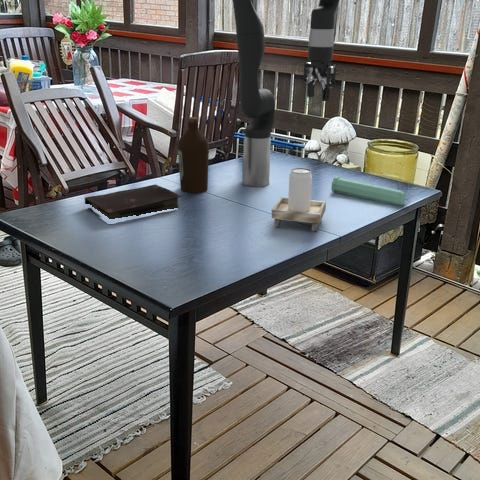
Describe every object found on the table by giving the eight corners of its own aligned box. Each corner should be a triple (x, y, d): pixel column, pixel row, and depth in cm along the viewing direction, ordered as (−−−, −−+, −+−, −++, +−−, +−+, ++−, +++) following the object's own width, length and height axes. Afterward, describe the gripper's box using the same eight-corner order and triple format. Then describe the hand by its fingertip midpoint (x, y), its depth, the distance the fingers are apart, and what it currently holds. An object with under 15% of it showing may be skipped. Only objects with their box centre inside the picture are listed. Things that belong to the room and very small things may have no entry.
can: (311, 213, 172) (313, 173, 168) (288, 213, 172) (290, 173, 168) (308, 206, 178) (310, 167, 174) (287, 205, 178) (288, 167, 174)
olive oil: (208, 184, 212) (208, 114, 202) (209, 194, 202) (209, 120, 193) (179, 185, 211) (177, 114, 202) (178, 194, 201) (176, 120, 192)
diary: (85, 211, 187) (83, 195, 185) (155, 197, 201) (154, 182, 199) (110, 227, 173) (108, 211, 172) (183, 211, 187) (183, 196, 185)
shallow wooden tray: (271, 227, 174) (271, 209, 171) (279, 214, 184) (280, 197, 182) (318, 233, 170) (320, 214, 168) (324, 219, 181) (325, 201, 179)
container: (407, 186, 193) (338, 172, 206) (401, 197, 190) (330, 182, 202) (408, 200, 197) (339, 186, 210) (401, 211, 194) (331, 196, 206)
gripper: (345, 46, 175) (340, 101, 182) (318, 42, 187) (315, 95, 193) (323, 46, 172) (320, 103, 178) (298, 43, 184) (295, 96, 190)
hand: (317, 98), depth 186 cm, fingers open, 8 cm apart
